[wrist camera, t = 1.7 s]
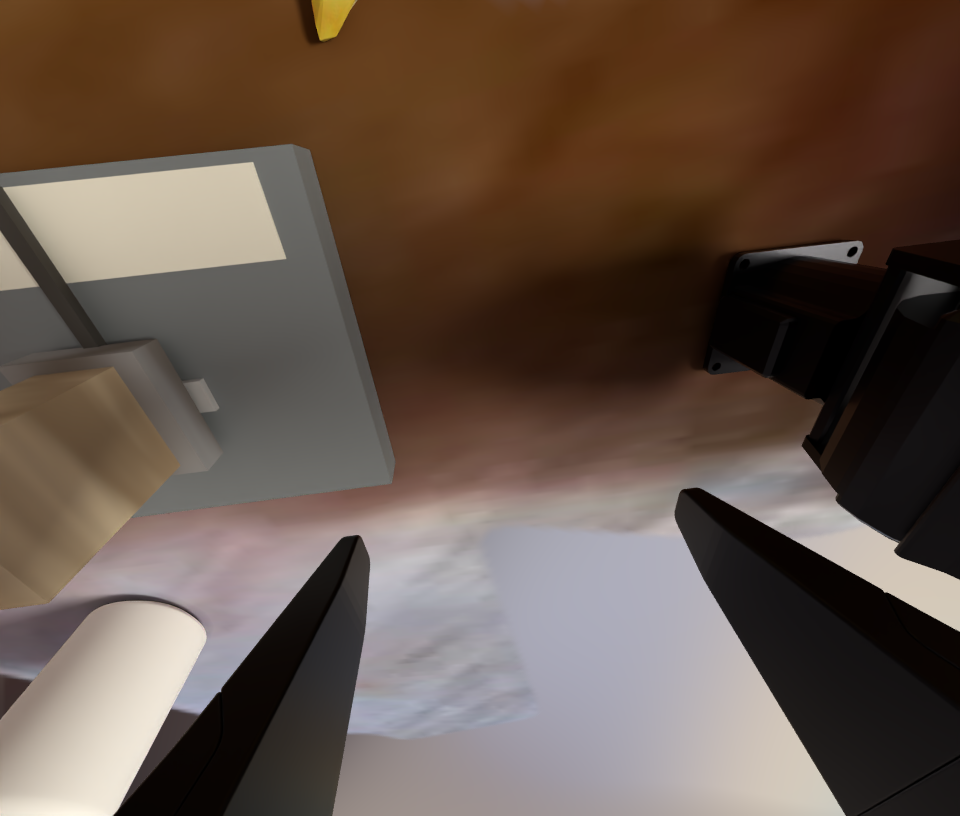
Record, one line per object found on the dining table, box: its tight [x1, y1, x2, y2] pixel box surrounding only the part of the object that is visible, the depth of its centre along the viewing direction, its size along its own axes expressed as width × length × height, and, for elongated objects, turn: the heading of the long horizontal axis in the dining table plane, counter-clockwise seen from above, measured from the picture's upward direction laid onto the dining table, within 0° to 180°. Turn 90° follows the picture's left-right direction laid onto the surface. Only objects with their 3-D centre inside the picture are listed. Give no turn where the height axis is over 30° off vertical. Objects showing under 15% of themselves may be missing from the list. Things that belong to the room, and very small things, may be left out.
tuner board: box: [0, 144, 395, 518], centre depth 17 cm, size 18×16×2 cm
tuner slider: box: [0, 187, 223, 610], centre depth 12 cm, size 5×12×8 cm, turn 5°
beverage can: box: [0, 601, 207, 816], centre depth 23 cm, size 8×8×12 cm
